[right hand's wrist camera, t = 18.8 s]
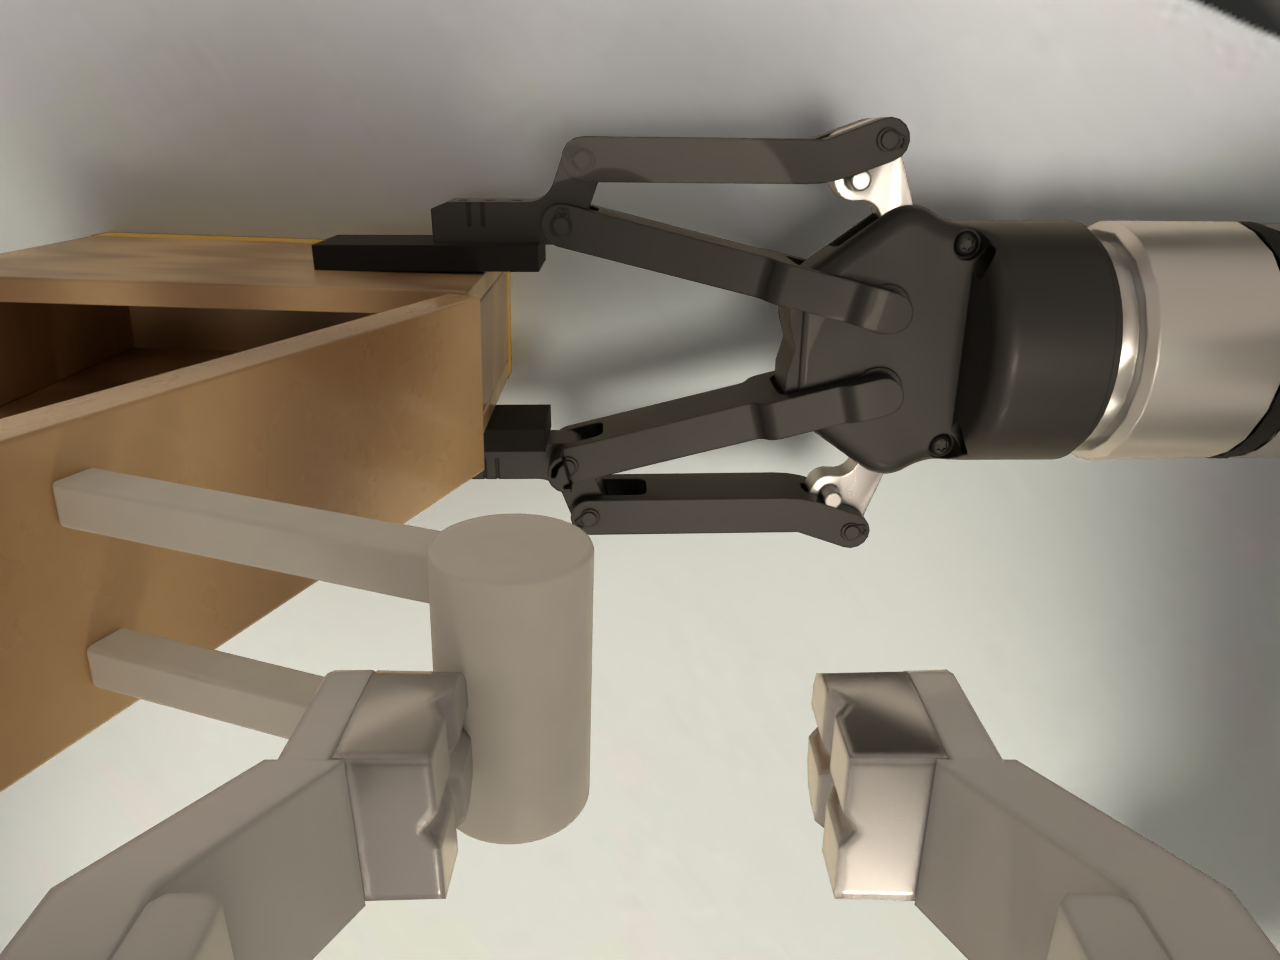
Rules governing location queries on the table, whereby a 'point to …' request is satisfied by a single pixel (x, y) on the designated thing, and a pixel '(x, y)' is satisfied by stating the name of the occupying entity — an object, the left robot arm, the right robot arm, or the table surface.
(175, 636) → the lid
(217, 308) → the chest
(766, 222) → the table surface
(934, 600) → the table surface
